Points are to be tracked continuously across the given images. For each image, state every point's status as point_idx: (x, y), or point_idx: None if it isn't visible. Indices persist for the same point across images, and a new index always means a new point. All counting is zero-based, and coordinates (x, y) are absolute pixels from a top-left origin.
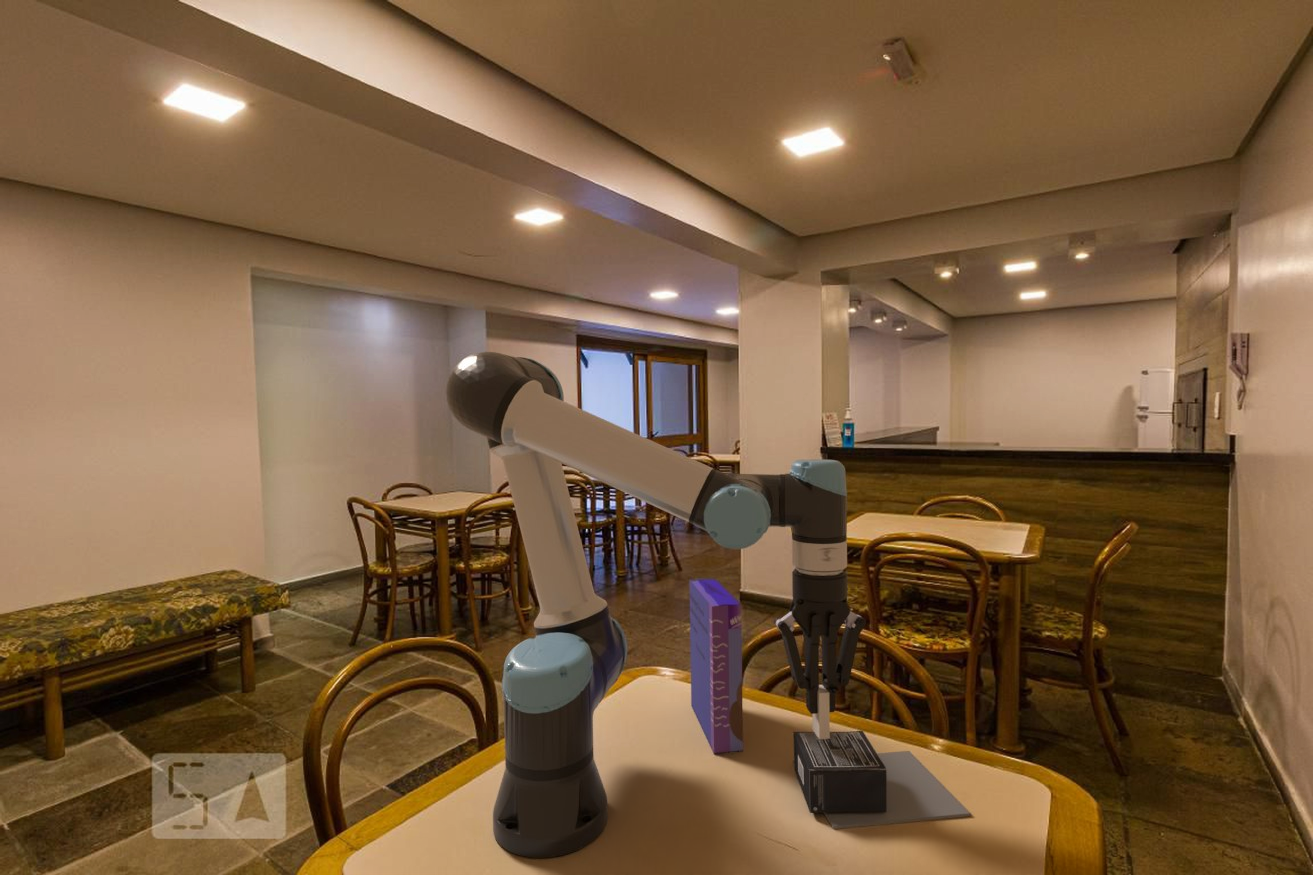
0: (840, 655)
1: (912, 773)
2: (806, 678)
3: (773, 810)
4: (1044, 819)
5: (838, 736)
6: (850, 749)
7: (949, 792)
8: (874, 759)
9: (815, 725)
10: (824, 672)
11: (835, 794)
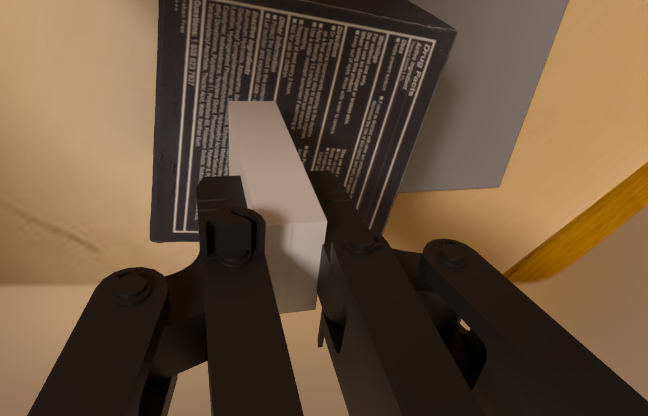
0: (535, 409)
1: (513, 29)
2: (200, 332)
3: (54, 120)
4: (592, 200)
5: (344, 57)
6: (336, 153)
7: (521, 120)
8: (373, 210)
9: (232, 151)
10: (348, 336)
11: None
